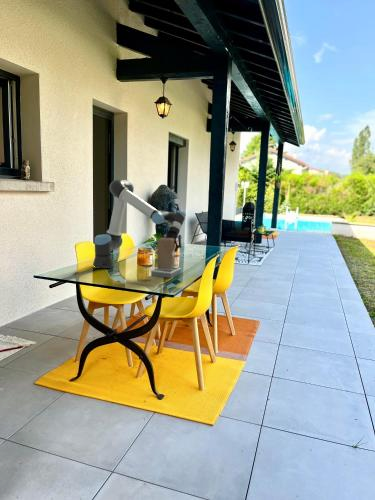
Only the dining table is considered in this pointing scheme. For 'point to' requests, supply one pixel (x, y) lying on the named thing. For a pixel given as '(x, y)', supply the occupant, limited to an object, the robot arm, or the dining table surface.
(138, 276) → the dining table surface
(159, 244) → the block
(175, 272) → the baseplate
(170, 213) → the robot arm
